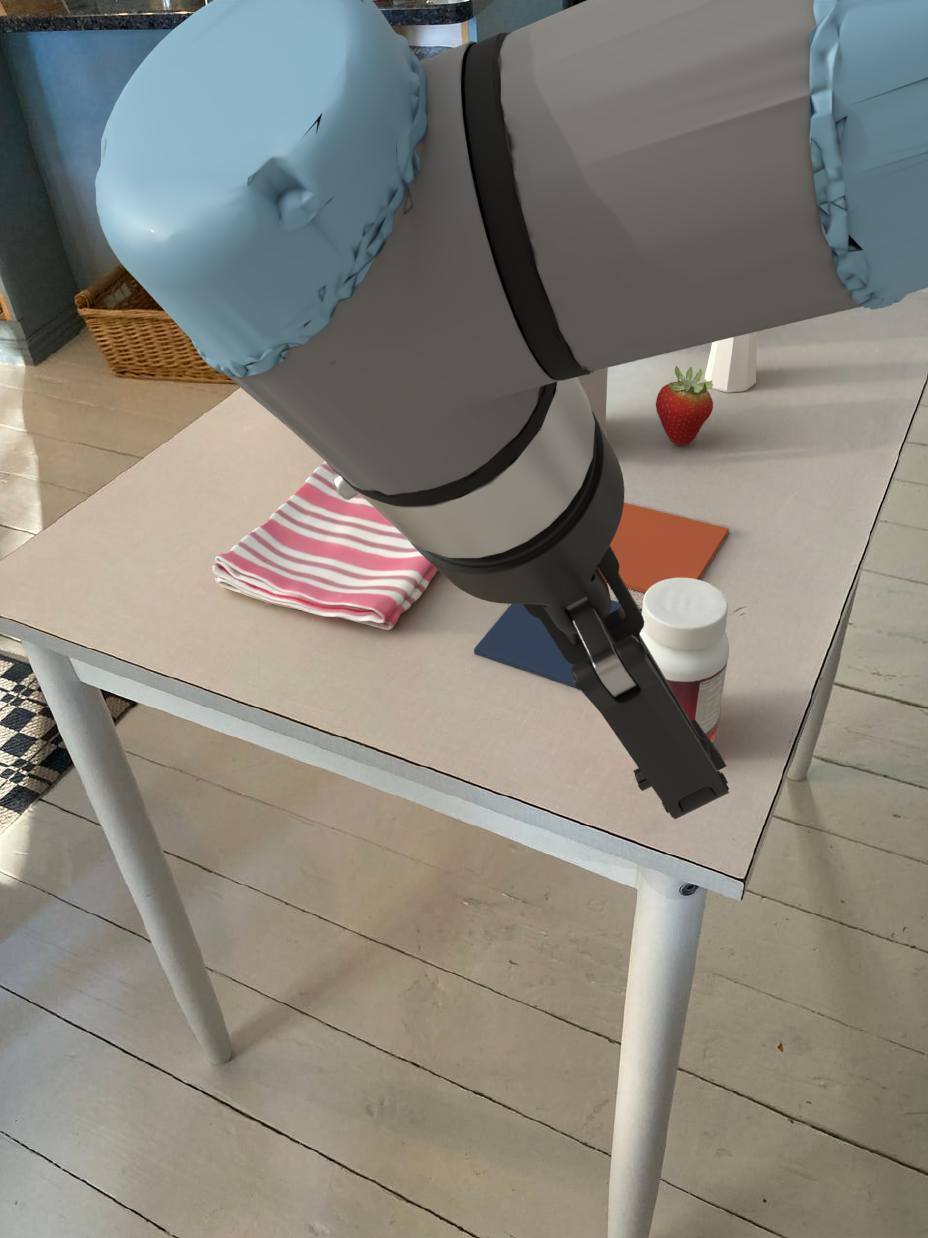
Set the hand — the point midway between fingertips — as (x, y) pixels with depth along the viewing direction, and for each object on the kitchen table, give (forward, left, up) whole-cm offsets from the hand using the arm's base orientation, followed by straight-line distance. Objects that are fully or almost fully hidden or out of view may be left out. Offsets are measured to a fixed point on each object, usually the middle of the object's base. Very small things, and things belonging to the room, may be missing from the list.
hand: (637, 655), depth 51 cm
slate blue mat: (+11, -16, -15) cm, 25 cm away
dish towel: (+33, -20, -16) cm, 42 cm away
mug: (+25, -41, -16) cm, 51 cm away
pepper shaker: (+14, -62, -16) cm, 66 cm away
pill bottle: (+1, -10, -16) cm, 19 cm away
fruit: (+14, -47, -16) cm, 52 cm away
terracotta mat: (+11, -29, -15) cm, 35 cm away
